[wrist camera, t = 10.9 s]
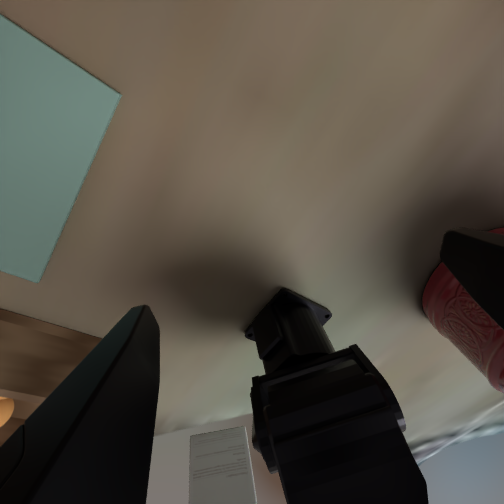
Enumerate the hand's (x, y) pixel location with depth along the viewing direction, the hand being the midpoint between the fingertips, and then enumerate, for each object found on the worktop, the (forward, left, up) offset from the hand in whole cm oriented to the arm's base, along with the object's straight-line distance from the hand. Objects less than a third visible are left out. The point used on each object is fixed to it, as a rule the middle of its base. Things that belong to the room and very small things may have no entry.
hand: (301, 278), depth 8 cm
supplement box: (-18, +32, -13) cm, 39 cm away
